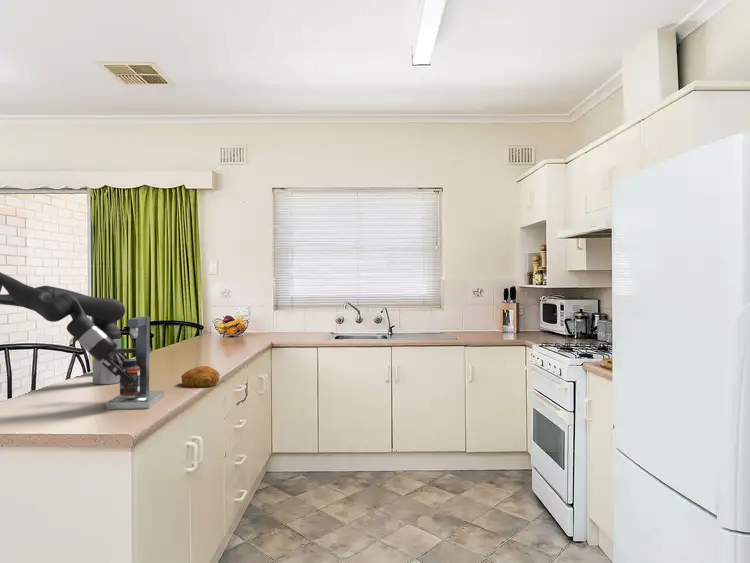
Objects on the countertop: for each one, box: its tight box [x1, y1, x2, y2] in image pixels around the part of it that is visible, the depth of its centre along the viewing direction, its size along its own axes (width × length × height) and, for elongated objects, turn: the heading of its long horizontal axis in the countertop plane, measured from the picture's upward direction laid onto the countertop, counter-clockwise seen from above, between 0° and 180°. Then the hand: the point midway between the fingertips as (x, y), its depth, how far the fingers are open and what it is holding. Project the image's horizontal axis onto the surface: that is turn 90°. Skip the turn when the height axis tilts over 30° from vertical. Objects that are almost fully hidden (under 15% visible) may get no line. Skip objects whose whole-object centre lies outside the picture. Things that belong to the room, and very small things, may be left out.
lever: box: [115, 346, 152, 355], centre depth 188 cm, size 19×4×4 cm, turn 97°
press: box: [105, 316, 165, 410], centre depth 179 cm, size 13×18×28 cm
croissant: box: [181, 365, 220, 388], centre depth 212 cm, size 14×16×8 cm
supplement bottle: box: [119, 358, 140, 396], centre depth 176 cm, size 6×6×11 cm
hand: (135, 379), depth 176 cm, fingers closed on supplement bottle, 6 cm apart
